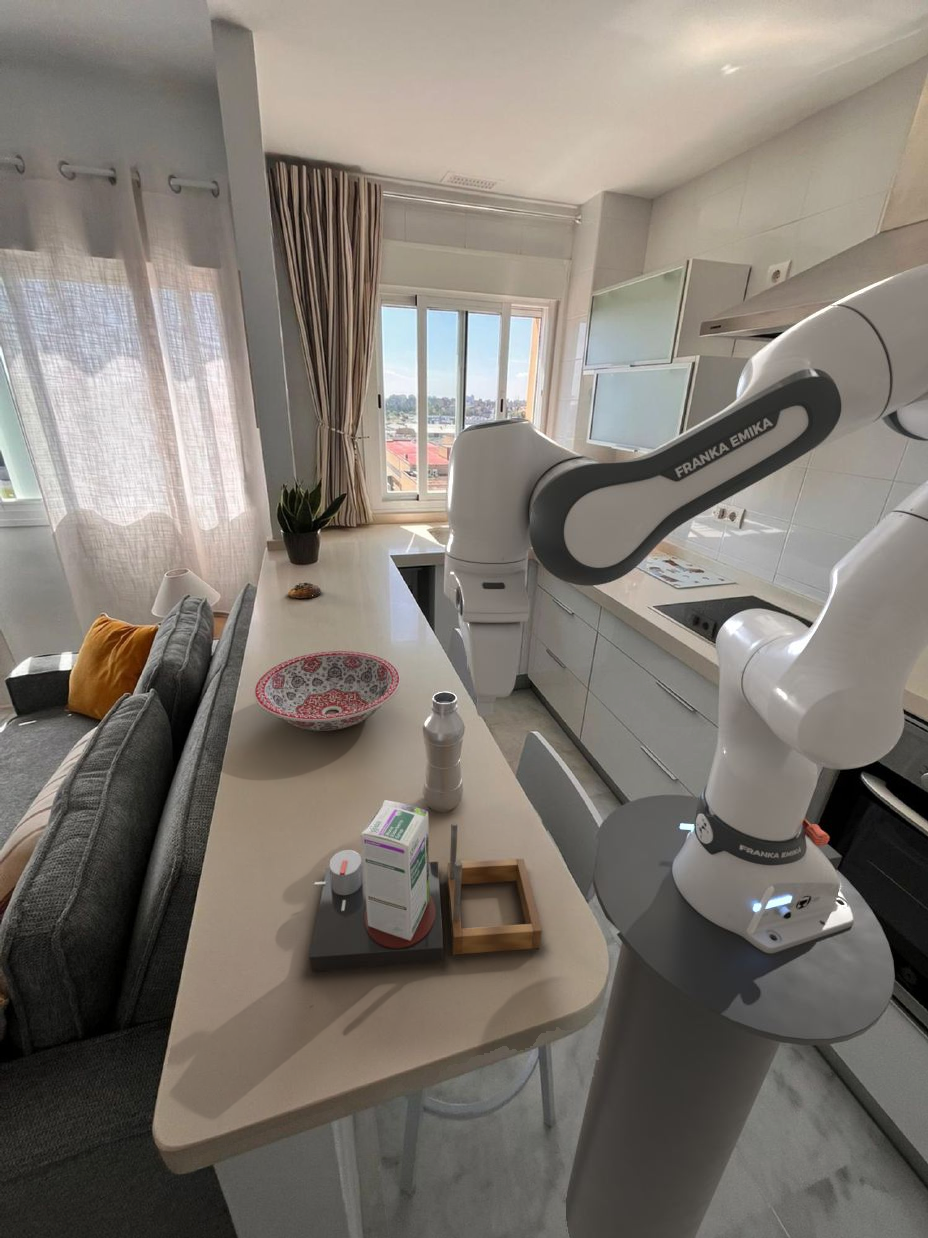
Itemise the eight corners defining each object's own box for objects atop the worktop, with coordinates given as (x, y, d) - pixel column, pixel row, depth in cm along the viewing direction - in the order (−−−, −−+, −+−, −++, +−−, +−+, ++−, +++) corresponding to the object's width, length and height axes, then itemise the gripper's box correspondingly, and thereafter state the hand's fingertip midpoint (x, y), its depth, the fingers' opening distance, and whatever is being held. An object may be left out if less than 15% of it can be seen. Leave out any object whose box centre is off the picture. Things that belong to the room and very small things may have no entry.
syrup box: (411, 943, 57) (410, 847, 51) (365, 927, 58) (360, 832, 53) (429, 901, 62) (430, 809, 57) (387, 887, 63) (384, 797, 58)
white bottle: (470, 806, 81) (475, 701, 74) (435, 823, 78) (436, 714, 70) (449, 784, 86) (452, 683, 79) (415, 798, 82) (414, 694, 75)
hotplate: (433, 881, 65) (433, 880, 65) (437, 946, 57) (437, 944, 57) (367, 885, 64) (367, 884, 64) (361, 951, 56) (361, 950, 56)
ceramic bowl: (279, 681, 117) (275, 651, 115) (402, 679, 120) (402, 650, 117) (238, 758, 91) (232, 721, 88) (398, 754, 93) (398, 718, 90)
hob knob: (334, 869, 66) (332, 847, 65) (364, 869, 66) (363, 847, 65) (327, 896, 62) (325, 873, 61) (359, 895, 62) (358, 873, 61)
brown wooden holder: (521, 874, 69) (528, 807, 65) (539, 948, 60) (549, 874, 55) (447, 879, 68) (449, 810, 64) (453, 955, 58) (455, 880, 54)
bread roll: (321, 597, 173) (318, 584, 171) (288, 603, 170) (285, 590, 168) (321, 589, 183) (318, 576, 181) (290, 594, 180) (287, 581, 179)
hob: (437, 865, 70) (437, 851, 69) (442, 962, 58) (443, 946, 57) (321, 872, 69) (319, 857, 68) (301, 973, 56) (298, 957, 55)
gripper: (449, 555, 63) (446, 653, 68) (465, 612, 44) (460, 743, 49) (498, 555, 63) (492, 653, 68) (534, 612, 44) (522, 741, 50)
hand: (479, 691), depth 59 cm, fingers open, 8 cm apart
